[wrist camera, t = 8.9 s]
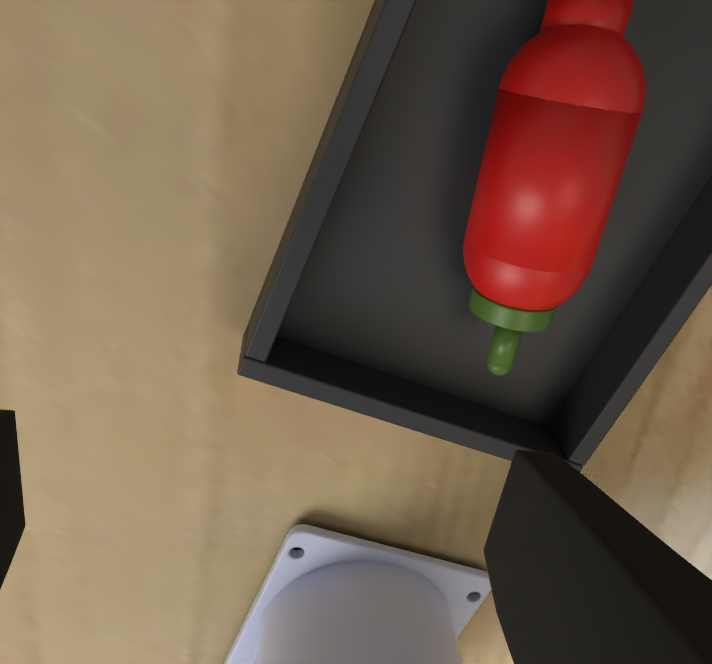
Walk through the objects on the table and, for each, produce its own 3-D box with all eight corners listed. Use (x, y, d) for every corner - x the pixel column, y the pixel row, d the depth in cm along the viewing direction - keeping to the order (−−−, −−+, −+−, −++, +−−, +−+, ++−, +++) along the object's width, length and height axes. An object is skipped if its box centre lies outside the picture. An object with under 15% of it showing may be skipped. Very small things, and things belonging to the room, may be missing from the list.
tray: (548, 438, 21) (574, 481, 19) (242, 337, 18) (236, 375, 16) (866, -43, 15) (949, -51, 13) (488, -291, 13) (524, -347, 11)
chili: (535, 349, 19) (568, 407, 16) (431, 335, 19) (444, 390, 16) (652, -33, 15) (725, -49, 12) (518, -57, 14) (558, -78, 11)
